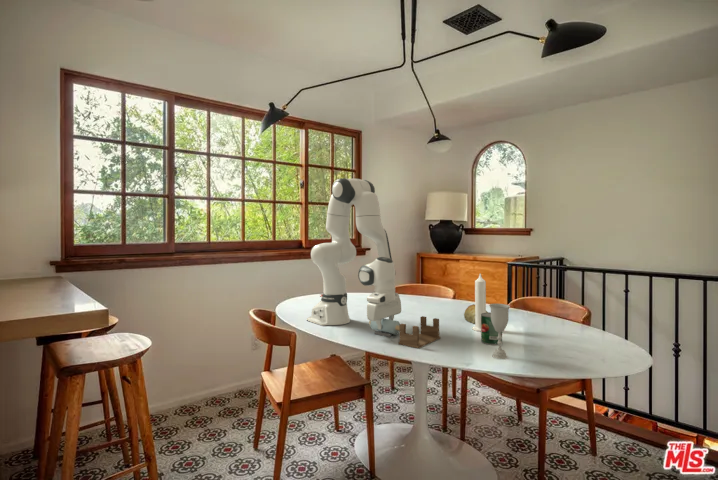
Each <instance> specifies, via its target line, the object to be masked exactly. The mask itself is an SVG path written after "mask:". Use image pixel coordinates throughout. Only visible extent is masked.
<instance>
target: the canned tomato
mask: <svg viewBox="0 0 718 480" xmlns="http://www.w3.org/2000/svg"><path fill="white" fill-rule="evenodd" d="M487 312H488V311H487ZM480 337H481V338H480V341H481V343H482V344H484V345H491V346H498V343H497V342H498V338H497V337H498V332H497V331H496V330H495V328H494V326H493V324H492V321H491V311H490V312H488V313H482V314H481V332H480ZM501 337H502V339H501V342H502V343H503V332H501Z"/></svg>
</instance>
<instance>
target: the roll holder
mask: <svg viewBox="0 0 718 480" xmlns="http://www.w3.org/2000/svg"><path fill="white" fill-rule="evenodd" d="M427 324H428V323H427V316H423V315H422V316H420V326H418V325H413V326H412V329H411V330H412V333H407V324H406V323H400V324H399V329H400V331H399V341H398V345H402V346H405V347H410V348H415V349H420V348H422V347H424V346H427V345H429V344H431V343H433V342H435V341H438V340H440V339H441V335H440V319H439V318H436V317H435V318H432V325H427Z"/></svg>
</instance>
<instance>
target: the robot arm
mask: <svg viewBox="0 0 718 480" xmlns="http://www.w3.org/2000/svg"><path fill="white" fill-rule="evenodd" d="M375 192H376V189H375V186H374V184H373V183H372V182H371V181H368V180H366V179H360V178H355V177H354V178H345V177H342V178H338V179H336V180H334V182H333V183H332V186H331V195H330V198H329V202H328V205H327V212H326V220H325V230H326V232H327V233H328V234H330V236H331V242H323V243H322V242H321V243H319V244H316V245H314V246H313V247H311V250H310V260H311V262H312V263H313V264H314V265H316V266H317V267H318V269H319V271H320V273H321V277H322V285H323V293H321V294H320V295H319V298H320V297H321V299H320V301H319V302H318V303H316V304H315V305H314V306H313V307H312V309H311V316H309V317H307V318H306V321H307V320H308V322H311V323H314V324H316V325H318V326H323V327H324V326H339V325H341V326H342V325H346V324H348V323H350V322H351V320H350V316H349V310H348V293H347V279H346V278H347V277H346V276H345V275H344V274H343V273H342V272H341V271H340V269H339V265H344V264H345V265H346V264H348V263H350V262H353V261H354V260H355V259H356V257H357V248H356V246H355V245H354V244H353V243H352V241H351V238H350V233H349V232H350V230H349V229H350V219H351V210H352V206H353V205H354V208H355V209H354V210H355V226H356V229H357V231H358V232H359V233H360V234H361V235H362V236H364V237H366V238H368V239H370V240H372V242H374V243H375V245H376V250H377V255H378V257H376V258H375V259H374V260H373V261H372V262H369V263H367V264H363V265H361V266H360V268H359V269H358V275H357V277H358V280H359V282H360V283H361V285H362V286H365V287H370V286H374V291H372V293H370V294H369V295H368V296H366V302H367V305H366V318H367V320H368V321H376V323H377V325H378V329H380V330H381V329H383V325H382V324H381V321H382V319H383V318H384V319H389V320H394V319H395V316H396V315H399V314H401V312H402V301H401V298H400V294H399V293H398V292H396V286H395V281H396V273H397V272H396V269H395V266H396V265H395V263H394V260H393V258H392V254H391V247H390V243H389V242H390V241H389V237H388V233H387V230H386V229H385V228H384V226H383V224H382V219H381V208H380V203H379V200H378V199H379V198H378V196H377V194H376V193H375Z"/></svg>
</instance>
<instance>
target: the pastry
mask: <svg viewBox="0 0 718 480" xmlns="http://www.w3.org/2000/svg"><path fill="white" fill-rule="evenodd" d="M486 313H488V311H487V310H486ZM463 318H464V320H465V321H466V322H468V323H470V324H472V325H475V304H474V303H473V304H471V305H468V306H467V307H466V309H465V310H464V313H463Z"/></svg>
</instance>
